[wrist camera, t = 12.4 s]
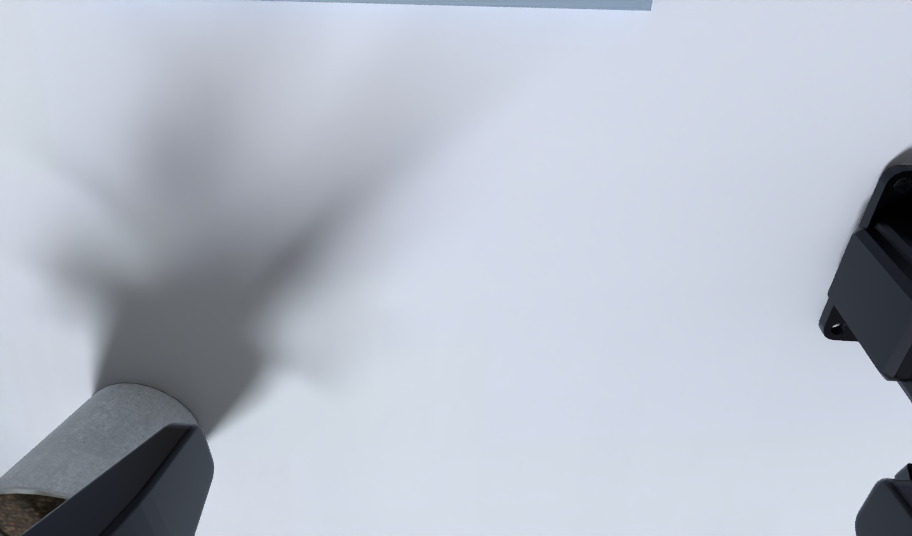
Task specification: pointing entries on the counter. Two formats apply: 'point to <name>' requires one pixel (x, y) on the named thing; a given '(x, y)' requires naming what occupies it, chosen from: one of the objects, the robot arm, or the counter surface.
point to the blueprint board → (515, 3)
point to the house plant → (83, 451)
